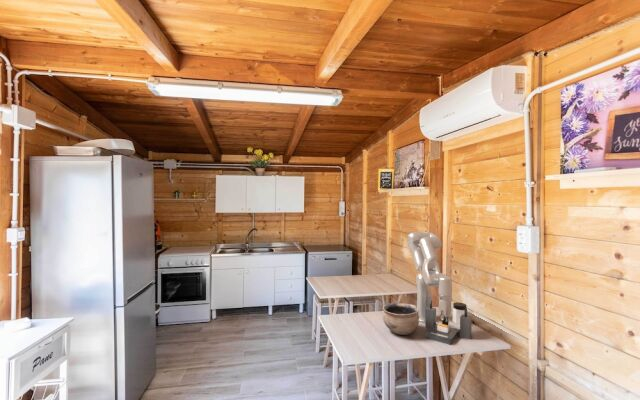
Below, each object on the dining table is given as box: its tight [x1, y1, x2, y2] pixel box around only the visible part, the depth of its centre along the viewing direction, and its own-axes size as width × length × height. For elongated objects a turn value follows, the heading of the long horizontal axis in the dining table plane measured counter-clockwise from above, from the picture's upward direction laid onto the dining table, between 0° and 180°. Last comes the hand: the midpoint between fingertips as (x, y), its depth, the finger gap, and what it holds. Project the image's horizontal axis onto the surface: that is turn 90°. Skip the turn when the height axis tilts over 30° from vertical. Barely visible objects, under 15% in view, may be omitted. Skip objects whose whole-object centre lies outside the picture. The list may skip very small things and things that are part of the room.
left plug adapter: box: [424, 299, 437, 330], centre depth 202 cm, size 5×5×17 cm
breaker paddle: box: [436, 322, 450, 333], centre depth 189 cm, size 6×2×4 cm, turn 50°
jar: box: [451, 302, 467, 325], centre depth 211 cm, size 9×8×12 cm
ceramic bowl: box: [382, 302, 420, 336], centre depth 195 cm, size 22×22×15 cm
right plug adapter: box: [459, 306, 472, 340], centre depth 189 cm, size 5×5×17 cm
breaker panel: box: [425, 323, 460, 345], centre depth 189 cm, size 14×18×3 cm
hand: (445, 327), depth 192 cm, fingers closed
